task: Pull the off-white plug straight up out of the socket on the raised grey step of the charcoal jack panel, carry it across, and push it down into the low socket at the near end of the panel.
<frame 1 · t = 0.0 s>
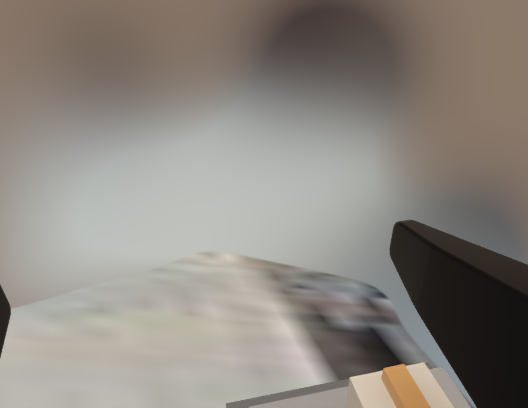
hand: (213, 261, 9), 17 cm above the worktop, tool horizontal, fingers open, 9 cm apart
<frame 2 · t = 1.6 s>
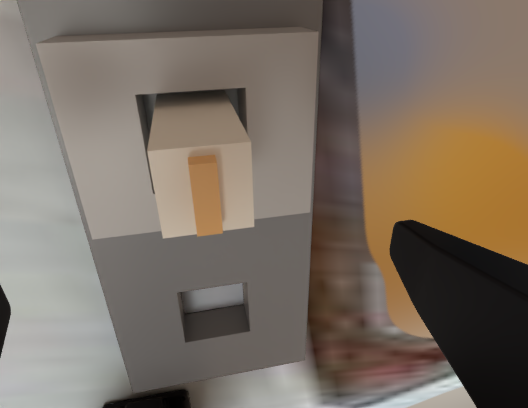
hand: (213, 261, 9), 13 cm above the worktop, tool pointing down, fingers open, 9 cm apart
plug: (194, 124, 18), point 2 cm above the worktop, touching jack panel
jack panel: (203, 209, 23), on the worktop
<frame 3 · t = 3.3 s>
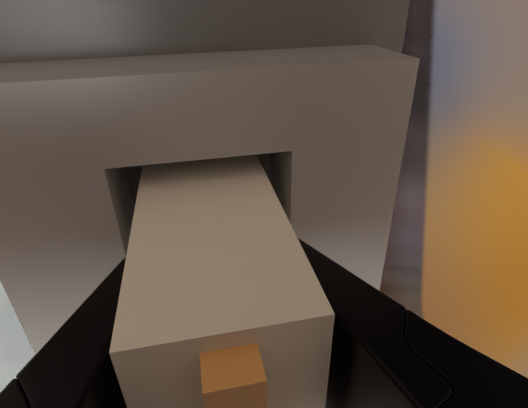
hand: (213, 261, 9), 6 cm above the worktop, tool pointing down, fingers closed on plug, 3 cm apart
plug: (203, 191, 12), point 3 cm above the worktop, touching gripper, jack panel
jack panel: (213, 285, 17), on the worktop
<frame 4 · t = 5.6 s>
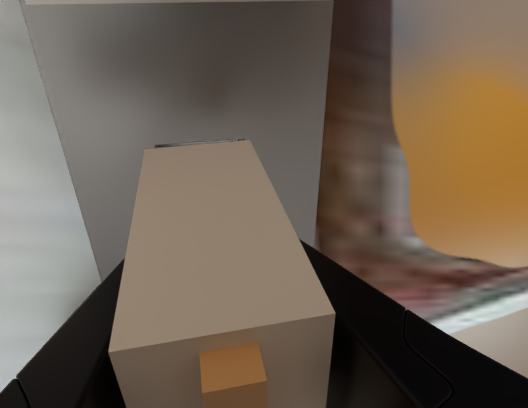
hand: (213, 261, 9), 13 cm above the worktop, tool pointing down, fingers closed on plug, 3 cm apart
plug: (203, 190, 12), point 9 cm above the worktop, touching gripper
jack panel: (190, 44, 18), on the worktop
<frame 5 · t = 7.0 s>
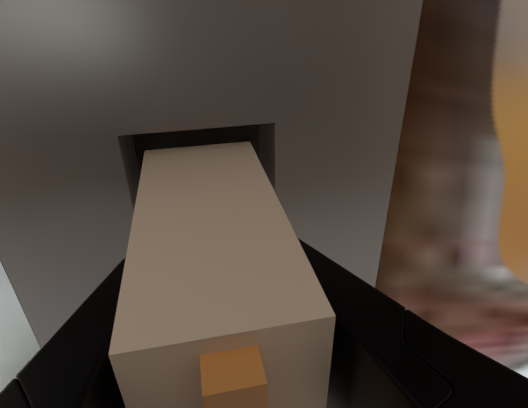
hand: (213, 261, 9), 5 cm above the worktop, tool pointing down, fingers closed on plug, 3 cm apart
plug: (203, 191, 12), point 2 cm above the worktop, touching gripper
when the fingers open (4 cm above the worktop, at t = 8.2 s): plug stays where it is, resting in jack panel.
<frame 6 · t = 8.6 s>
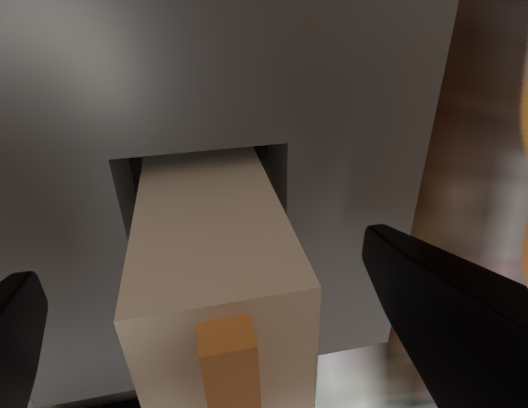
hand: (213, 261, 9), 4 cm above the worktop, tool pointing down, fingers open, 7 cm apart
plug: (203, 183, 12), resting in jack panel
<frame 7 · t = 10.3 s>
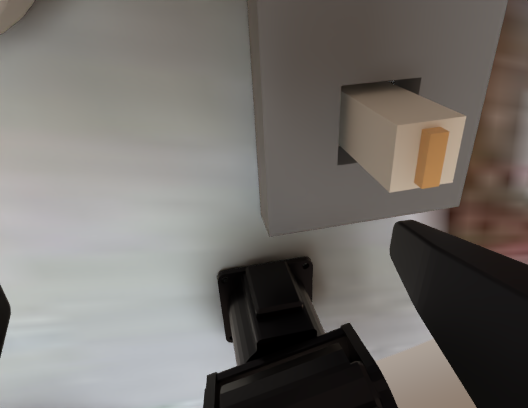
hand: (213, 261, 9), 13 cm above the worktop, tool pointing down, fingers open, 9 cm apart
plug: (357, 109, 22), resting in jack panel
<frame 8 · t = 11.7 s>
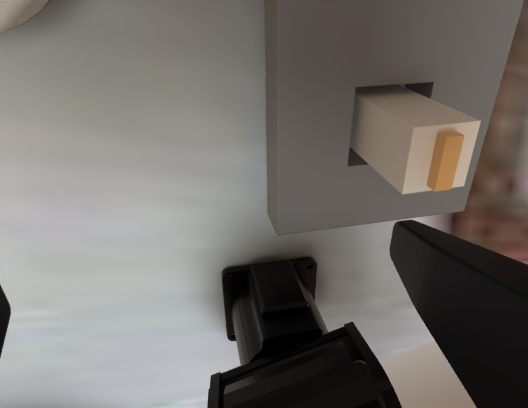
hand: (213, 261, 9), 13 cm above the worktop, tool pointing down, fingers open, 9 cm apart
plug: (368, 112, 22), resting in jack panel
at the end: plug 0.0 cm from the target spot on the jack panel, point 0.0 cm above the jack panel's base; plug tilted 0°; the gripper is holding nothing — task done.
